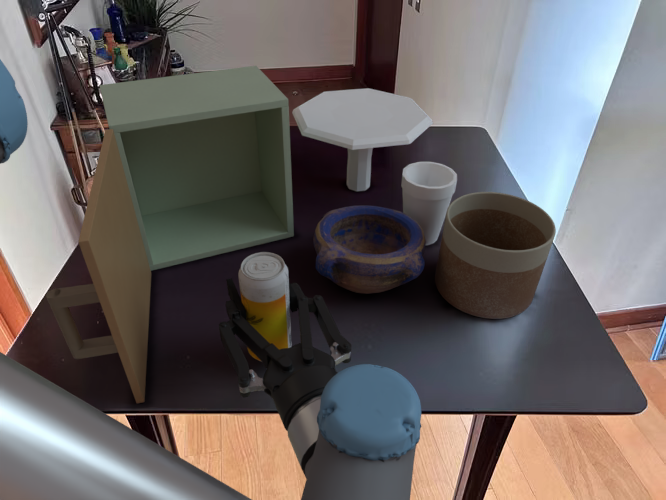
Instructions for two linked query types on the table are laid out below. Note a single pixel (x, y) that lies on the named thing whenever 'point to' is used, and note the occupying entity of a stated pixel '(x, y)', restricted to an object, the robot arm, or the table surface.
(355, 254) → the bowl
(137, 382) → the cupboard door
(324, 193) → the table surface
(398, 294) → the table surface
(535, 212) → the planter
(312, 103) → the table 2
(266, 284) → the beer can
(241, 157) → the cupboard
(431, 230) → the foam cup
